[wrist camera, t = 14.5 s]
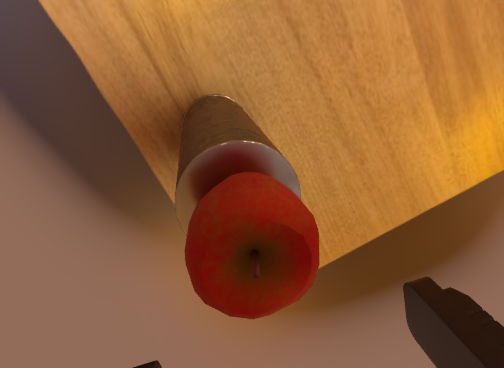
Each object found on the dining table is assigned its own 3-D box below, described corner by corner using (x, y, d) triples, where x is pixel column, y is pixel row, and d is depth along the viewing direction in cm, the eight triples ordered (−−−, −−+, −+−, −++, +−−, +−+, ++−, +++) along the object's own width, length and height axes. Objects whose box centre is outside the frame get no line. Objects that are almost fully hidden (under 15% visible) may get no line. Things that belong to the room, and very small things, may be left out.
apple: (223, 131, 20) (240, 175, 13) (309, 184, 22) (362, 246, 15) (166, 221, 22) (155, 303, 15) (252, 264, 24) (278, 353, 17)
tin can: (193, 168, 44) (196, 273, 23) (172, 104, 41) (155, 161, 20) (255, 150, 44) (311, 238, 24) (239, 86, 41) (287, 123, 21)
